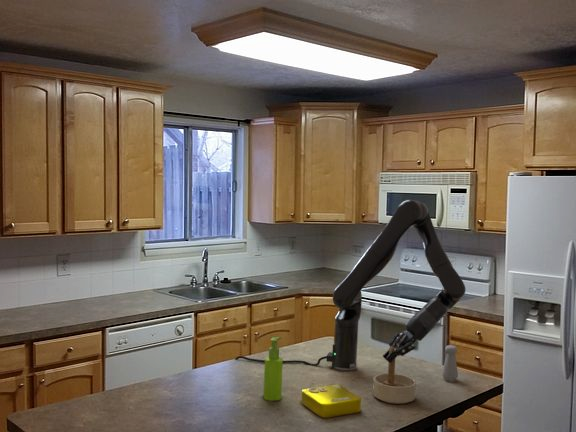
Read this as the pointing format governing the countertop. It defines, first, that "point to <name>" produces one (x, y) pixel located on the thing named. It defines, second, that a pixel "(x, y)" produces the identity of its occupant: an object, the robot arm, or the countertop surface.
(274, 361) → the soap dispenser
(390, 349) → the wooden pestle
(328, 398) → the element tile
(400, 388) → the bowl
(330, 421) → the countertop surface
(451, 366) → the salt shaker
